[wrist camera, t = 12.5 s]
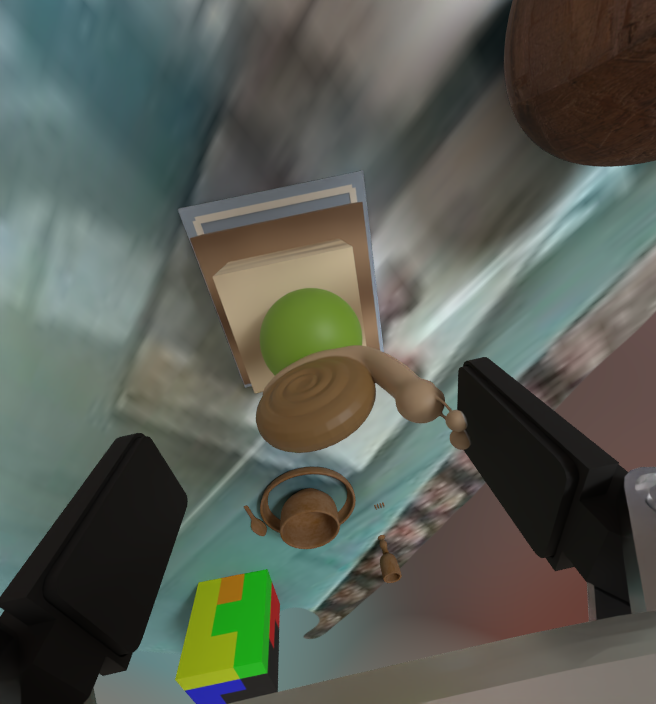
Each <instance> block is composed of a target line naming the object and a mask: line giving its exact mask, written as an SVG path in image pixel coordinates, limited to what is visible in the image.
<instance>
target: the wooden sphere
mask: <svg viewBox="0 0 656 704" xmlns="http://www.w3.org/2000/svg"><path fill="white" fill-rule="evenodd" d="M504 75H505V84H506V90H507V95H508V99H509V102H510V105H511V108H512V111H513V113H514V115H515V117H516V119H517V121H518V123H519V125H520V126H521V128H522V129H523V131H524V132H525V133H526V134H527V136H528V137H529V138H530V139H531V140H532V141H533V142H534V143H535V144H536V145H538V146H539V147H540V148H542V149H543V150H545V151H546V152H548V153H549V154H551V155H553V156H556V157H558V158H560V159H563V160H566V161H569V162H572V163H576V164H582V165H589V166H603V167H607V166H626V165H633V164H640V163H645V162H650V161H655V160H656V0H513V2H512V6H511V10H510V14H509V19H508V25H507V31H506V38H505V49H504Z"/></svg>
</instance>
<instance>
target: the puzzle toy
mask: <svg viewBox="0 0 656 704" xmlns="http://www.w3.org/2000/svg"><path fill="white" fill-rule="evenodd" d="M279 613H280V603H279V600H278V598H277V595H276V592H275V589H274V586H273V584H272V581H271V578H270V575H269V572H268V570H267V569H266V570H261V571H256V572H251V573H245V574H240V575H235V576H230V577H225V578H220V579H214V580H209V581H204V582H199V583H198V587H197V591H196V595H195V600H194V604H193V608H192V612H191V616H190V620H189V625H188V629H187V633H186V637H185V641H184V645H183V649H182V654H181V658H180V662H179V666H178V670H177V674H176V678H175V680H176V681H177V682H178V684H180V686H181V687H182V688H183V689H184V690H185V692H186V693H187V694H188V695H189V696H190V697H191V699H192V700H193V701H194V702H195V703H196V704H229V703H233V702H238V701H242V700H246V699H250V698H255V697H259V696H263V695H267V694H272V693H276V692H278V655H279Z"/></svg>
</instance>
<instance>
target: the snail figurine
mask: <svg viewBox="0 0 656 704" xmlns="http://www.w3.org/2000/svg"><path fill="white" fill-rule="evenodd" d="M260 349H261V353H262V356H263V359H264V361H265V363H266V365H267V367H268V368H269V370H270V371H271V372H272V373H273V374H274V375H275V376H274V377H273V378H272V380H271V381H270V382H269V383H268V384H267V386H266V387H265V389H264V391H263V396H262V398H261V400H260V402H259V405H258V407H257V412H256V423H257V427H258V430H259V432H260V434H261V436H262V437H263V438H264V440H265V441H267V442H268V443H269V444H270V445H272V446H273V447H275V448H277V449H280V450H283V451H287V452H295V453H303V452H312V451H317V450H321V449H324V448H327V447H329V446H332V445H334V444H336V443H338V442H340V441H342V440H343V439H345V438H347V437H348V436H349V435H351V434H352V433H353V432H354V431H356V430H357V429H358V428H359V427H360V426H361V425H362V424H363V422H364V421H365V420H366V418H367V417H368V415H369V414H370V412H371V410H372V408H373V405H374V402H375V397H376V388H375V383H377V384H378V385H379V386H381V387H382V388H383V389H384V390H386V391H387V392H388V393H389V394H390V395H391V396H393V397H394V398H395V400H396V407H397V409H398V411H399V413H400V414H401V415H402V416H403V417H404V418H405V419H407V420H409V421H411V422H415V423H427V422H430V421H433V420H434V419H436V418H437V417H438V416H441V417H443V418H444V419H445V420H446V424H447V426H448V427H449V428H450V429H451V430H453V431H452V432H451V434H450V442H451V444H452V445H453V446H454V447H455V448H457V449H460V450H464V449H467V448H469V446H470V445H471V439H470V436H469V434H468V432H467V431H466V430H465V429H466V428H467V425H468V424H467V419H466V416H465V415H464V413H462V412H461V411H459V410H453V411H452V410H451V408H450V407H449V406H448V405H447V404H446V403H445V397H444V394H443V393H442V392H441V391H440V390H439V389H438V388H437V387H435V385H434V384H433V383H432V382H430V381H428V380H424V379H421V378H419V377H418V376H417V375H416V374H415V373H414V372H413V371H412V370H410V369H409V368H408V367H407V366H405V365H404V364H403V363H401V362H400V361H398V360H397V359H395V358H393V357H392V356H390V355H388V354H386V353H384V352H382V351H380V350H377V349H374V348H370V347H366V346H362V330H361V325H360V322H359V320H358V317H357V315H356V314H355V312H354V310H353V309H352V308H351V307H350V305H349V304H348V303H347V302H346V301H345V300H343V299H342V298H341V297H339V296H338V295H336V294H334V293H332V292H330V291H327V290H323V289H318V288H304V289H299V290H295V291H292V292H290V293H288V294H286V295H284V296H283V297H281V298H280V299H279V300H277V301H276V302H275V303H274V304H273V305H272V306H271V308H270V309H269V310H268V312H267V314H266V315H265V317H264V320H263V322H262V326H261V330H260ZM444 405H445V406H446V408H447V409H448V410H449V413H448V414H447V416H445V415H443V413H442V411H443V409H444Z"/></svg>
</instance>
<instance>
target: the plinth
mask: <svg viewBox="0 0 656 704" xmlns="http://www.w3.org/2000/svg"><path fill="white" fill-rule="evenodd" d="M190 241H191V244H192V246H193V249H194V252H195V254H196V257H197V260H198V262H199V265H200V268H201V270H202V273H203V276H204V278H205V281H206V284H207V286H208V289H209V292H210V294H211V297H212V300H213V302H214V305H215V307H216V310H217V313H218V315H219V318H220V321H221V323H222V326H223V329H224V331H225V334H226V337H227V339H228V342H229V345H230V347H231V350H232V353H233V355H234V358H235V361H236V363H237V366H238V369H239V371H240V374H241V377H242V379H243V382H244V385H247V384H251V385H252V387H253V390H254V393H259V392H263V391H264V389H265V387H266V386H267V384H268V383H269V382H270V381H271V380H272V378H273V377H274V376H275V375H274V374H273V373H272V372H271V371H270V370H269V368H268V367H267V365H266V363H265V361H264V359H263V356H262V353H261V349H260V330H261V326H262V322H263V320H264V317H265V315H266V314H267V312H268V310H269V309H270V308H271V306H272V305H273V304H274V303H275V302H276V301H277V300H279V299H280V298H281V297H283V296H284V295H286V294H288V293H290V292H292V291H295V290H299V289H304V288H318V289H323V290H327V291H330V292H332V293H334V294H336V295H338V296H339V297H341V298H342V299H343V300H345V301H346V302H347V303H348V304H349V305H350V307H351V308H352V309H353V310H354V312H355V314H356V315H357V317H358V320H359V322H360V325H361V330H362V346H366V347H370V348H374V349H377V350H380V344H379V336H378V328H377V319H376V311H375V302H374V294H373V286H372V277H371V269H370V260H369V252H368V243H367V235H366V227H365V218H364V210H363V202H355V203H349V204H345V205H340V206H335V207H330V208H326V209H321V210H316V211H311V212H307V213H302V214H297V215H292V216H288V217H283V218H278V219H273V220H269V221H264V222H259V223H254V224H250V225H245V226H240V227H235V228H231V229H226V230H221V231H216V232H212V233H207V234H202V235H199V236H195V237H192V238H190Z"/></svg>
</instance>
